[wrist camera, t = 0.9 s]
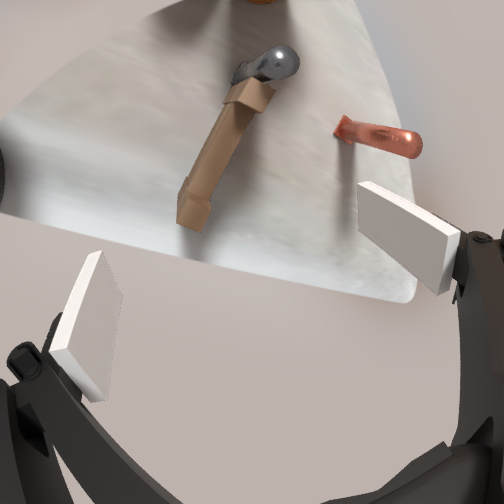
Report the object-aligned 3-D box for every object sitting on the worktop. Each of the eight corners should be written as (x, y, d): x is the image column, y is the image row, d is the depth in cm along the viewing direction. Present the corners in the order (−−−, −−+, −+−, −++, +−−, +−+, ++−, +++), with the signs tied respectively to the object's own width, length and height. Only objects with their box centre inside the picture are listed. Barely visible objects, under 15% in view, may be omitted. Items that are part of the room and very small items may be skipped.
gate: (178, 189, 34) (176, 223, 24) (231, 87, 30) (252, 76, 20) (195, 197, 35) (200, 232, 25) (248, 95, 31) (276, 90, 21)
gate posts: (230, 82, 30) (257, 66, 19) (246, 55, 29) (281, 27, 17) (345, 150, 36) (410, 174, 25) (359, 126, 35) (427, 141, 24)
